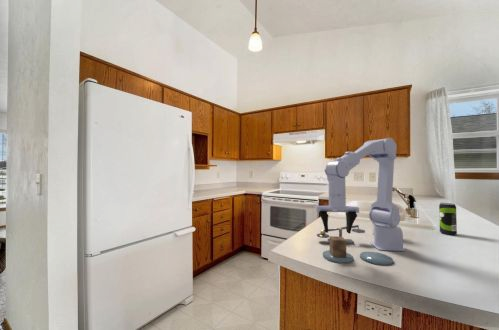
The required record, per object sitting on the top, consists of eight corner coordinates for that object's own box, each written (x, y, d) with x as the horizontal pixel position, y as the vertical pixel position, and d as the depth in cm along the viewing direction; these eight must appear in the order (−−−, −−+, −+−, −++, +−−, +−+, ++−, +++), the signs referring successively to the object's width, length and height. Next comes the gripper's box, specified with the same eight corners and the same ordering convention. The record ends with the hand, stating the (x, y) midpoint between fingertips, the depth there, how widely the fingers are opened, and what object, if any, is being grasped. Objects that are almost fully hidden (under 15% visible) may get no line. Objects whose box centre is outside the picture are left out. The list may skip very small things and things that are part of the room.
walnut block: (342, 253, 80) (342, 236, 80) (346, 257, 75) (346, 240, 76) (329, 252, 80) (329, 236, 81) (332, 257, 76) (332, 240, 76)
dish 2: (383, 254, 81) (383, 252, 81) (399, 266, 71) (399, 263, 71) (355, 253, 82) (355, 251, 82) (366, 264, 72) (366, 262, 72)
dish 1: (347, 252, 82) (347, 250, 82) (357, 264, 72) (357, 261, 72) (320, 251, 83) (320, 249, 83) (326, 262, 73) (326, 260, 74)
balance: (362, 241, 96) (362, 223, 96) (367, 245, 90) (367, 226, 91) (315, 239, 98) (315, 222, 98) (318, 243, 93) (318, 225, 93)
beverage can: (455, 233, 108) (454, 203, 109) (458, 236, 103) (457, 204, 103) (438, 231, 112) (438, 202, 112) (441, 234, 106) (440, 203, 107)
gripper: (318, 195, 75) (318, 234, 75) (362, 196, 74) (363, 236, 73) (314, 193, 82) (315, 229, 82) (354, 193, 81) (355, 230, 80)
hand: (337, 232), depth 78 cm, fingers open, 7 cm apart
